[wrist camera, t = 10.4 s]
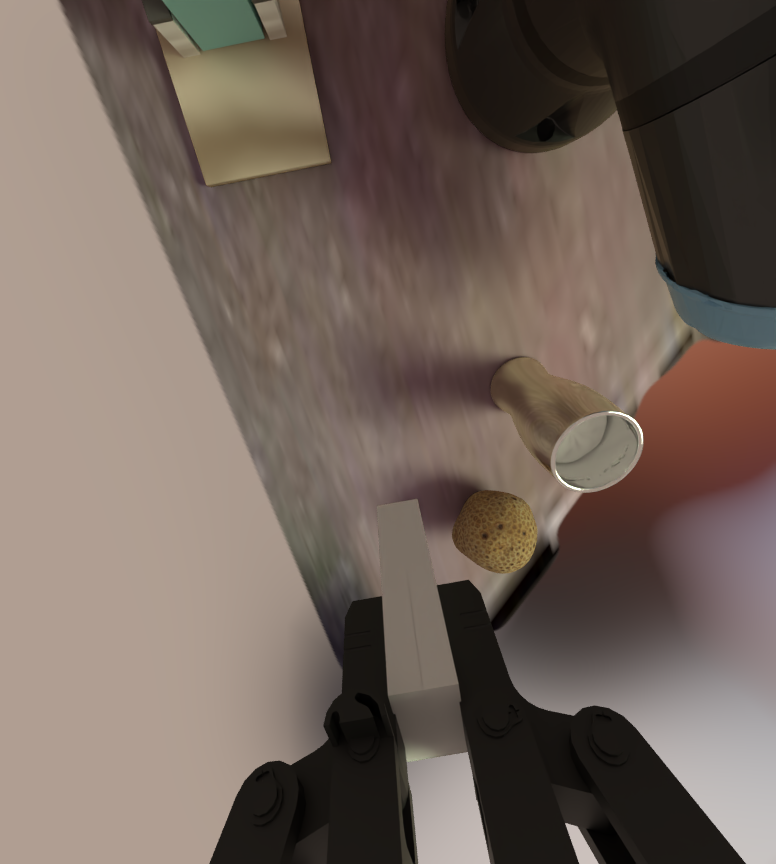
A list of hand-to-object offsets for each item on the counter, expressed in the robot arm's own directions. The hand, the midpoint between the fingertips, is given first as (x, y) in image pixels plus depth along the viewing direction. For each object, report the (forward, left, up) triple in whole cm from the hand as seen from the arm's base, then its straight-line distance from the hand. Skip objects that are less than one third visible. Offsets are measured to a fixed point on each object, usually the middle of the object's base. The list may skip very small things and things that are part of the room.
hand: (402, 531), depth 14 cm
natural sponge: (+4, +22, -27) cm, 35 cm away
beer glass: (-8, +13, -27) cm, 31 cm away
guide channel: (-9, -23, -26) cm, 36 cm away
